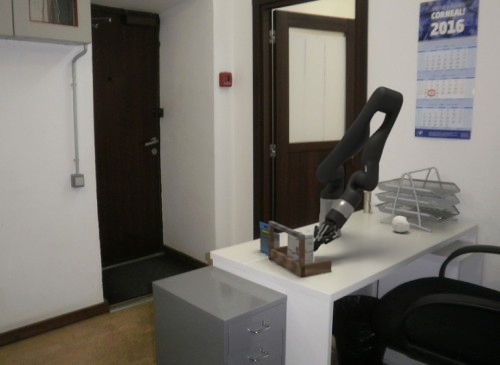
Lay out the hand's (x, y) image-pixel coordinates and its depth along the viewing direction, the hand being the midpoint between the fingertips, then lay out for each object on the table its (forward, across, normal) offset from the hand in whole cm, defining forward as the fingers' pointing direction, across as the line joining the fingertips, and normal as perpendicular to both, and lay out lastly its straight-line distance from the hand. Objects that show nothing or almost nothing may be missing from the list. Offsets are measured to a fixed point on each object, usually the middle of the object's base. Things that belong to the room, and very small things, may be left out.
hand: (312, 250), depth 170 cm
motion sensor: (-38, -16, +45) cm, 61 cm away
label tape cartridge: (+9, -18, -2) cm, 21 cm away
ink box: (+7, 0, 0) cm, 7 cm away
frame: (+7, 0, 0) cm, 7 cm away
